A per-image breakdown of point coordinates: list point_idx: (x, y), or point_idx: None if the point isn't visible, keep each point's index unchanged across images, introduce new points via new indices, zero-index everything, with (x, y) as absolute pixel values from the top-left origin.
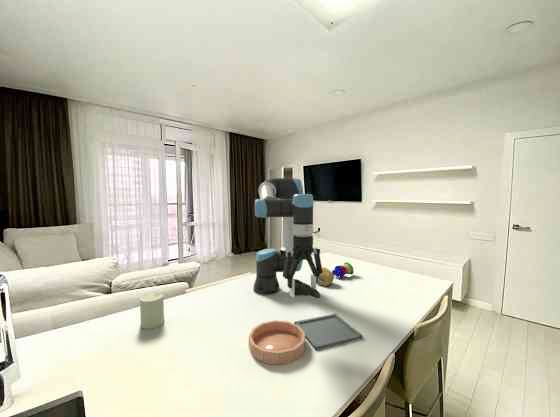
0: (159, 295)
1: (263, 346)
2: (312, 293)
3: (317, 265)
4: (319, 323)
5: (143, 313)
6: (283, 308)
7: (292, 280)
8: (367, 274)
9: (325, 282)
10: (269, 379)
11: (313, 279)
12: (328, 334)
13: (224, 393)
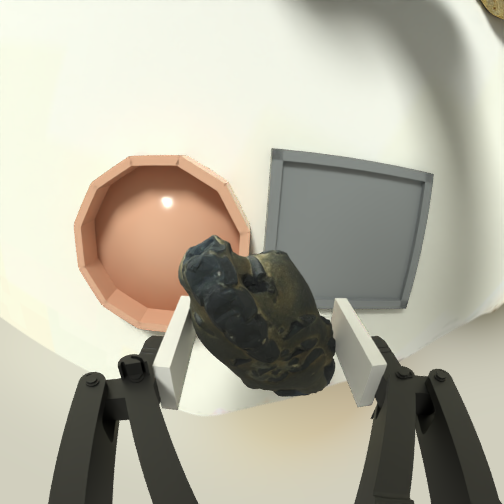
0: None
1: (122, 237)
2: (282, 394)
3: (431, 444)
4: (354, 192)
5: None
6: (288, 26)
7: (161, 404)
8: None
9: (495, 7)
10: (119, 335)
11: (353, 381)
12: (338, 261)
13: (50, 324)
